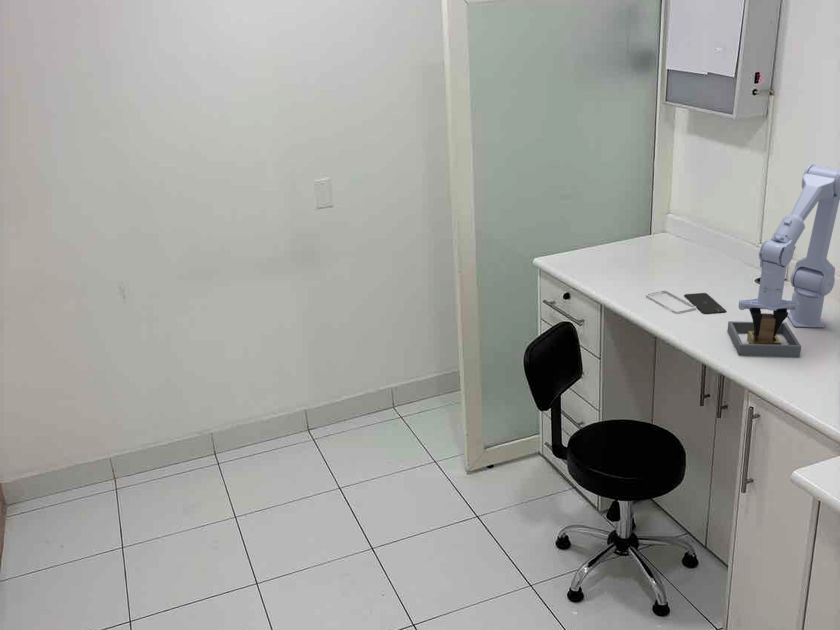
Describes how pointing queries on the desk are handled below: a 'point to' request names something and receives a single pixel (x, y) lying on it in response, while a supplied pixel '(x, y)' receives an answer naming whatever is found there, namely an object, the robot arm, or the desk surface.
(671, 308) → the phone case
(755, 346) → the walled box
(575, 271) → the desk surface
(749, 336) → the frame
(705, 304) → the smartphone
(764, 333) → the walnut peg
